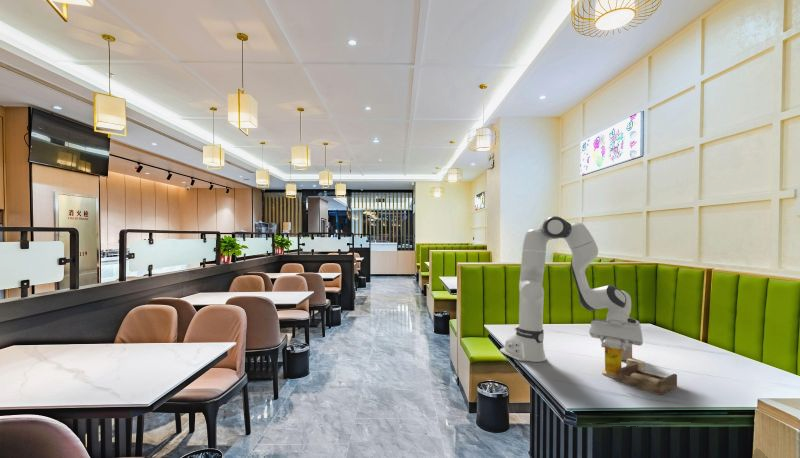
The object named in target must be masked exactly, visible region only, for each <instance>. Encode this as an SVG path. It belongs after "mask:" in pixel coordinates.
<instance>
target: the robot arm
mask: <svg viewBox="0 0 800 458" xmlns="http://www.w3.org/2000/svg"><path fill="white" fill-rule="evenodd" d="M523 238H524V239H523V243H522V249H521V250H522V252H521V261H520V262H521V263H520V274H519V282H518V290H519V303H518V304H519V307H518V309H519V310H518V319H519V320H518V327H514V331H516V332H515V333H514V334H513V335H512V336H510V337H508V338H507V339H506V340H505V342H504V347H502V348H500V349H499V352H500V353H502V354H503V355H504V354H505V355H507V356H508V357H510V358H513V359H515V360H517V361H522V362H533V363H537V362H538V363H541V362H545V361H546V360H547V356H546V353H545V349H544V332H545V331H544V329H543V328H544V327H543V325H544V324H543V320H544V319H543V318H544V302H545V301H544V299H545V290H544V287H543V281H544V274H545V266H546V257H547V256H546V254H547V245H548V244H547V243H548V242H549V241H550V240H558V239H563V240H565V242H566V243H567V244H568V247H569V249H570V251H571V255H572V259H571V261H570V268H571V271H572V275H573V279H574V282H575V286H576V288H577V292H578V299H579V303H580V305H581V306H582V307H583V308H584V309H586V310H588V311H589V312H594V311H596V310H602V309H608V311H607V313H606V319H598V318H596V319H592V320H591V322H590V327H589V330H588V333H589V335H590V337H592V338H593V339H599V341H600V342H601V344H600V345H601V348H604V349H605V339H606V338H607V337H611V338H617V339H620V341H621V342H622V343H625V344H624V345H621V351H625V349H626V348H627V347H628V346H629V344H632V346H633V345H634V346H642V345H643V343H644V338H643V332H642V328H641V324H640V321H639V320H637V319H635V318H632V317H630V314H631V312H632V298H631V295H630V294H629V293H628V292H627V291H625V290H621V289H619V288H618V287H617V286H614V285H613V284H609V285H604V286H599V287H595V288H591V287H590V285H589V282H588V279H587V275H586V270H587V267H588V266H590V264H591V263H593V262H594V261H595V260H596V258H597V257H598V254H599V247H598V245H597V243H596V241H595V239H594V238H593V236H592V234H591V232H590V230H588V228H587V227H586V226H585V225H584V223H582V222H573V223H570V222H569V221H567V220H565V219H564V218H562V217H560V216H557V215H555V216H554V215H553V216H549V217H548V218H546V219H544V221H543V222H542V224H541V225H540V227H539V228H531V229H529V230H527V231H526V232H525V235H524V237H523Z"/></svg>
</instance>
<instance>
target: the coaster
mask: <svg viewBox="0 0 800 458" xmlns="http://www.w3.org/2000/svg"><path fill="white" fill-rule="evenodd" d="M601 372H602V373H601V374H602V375H603V376H605V377H607V378H611V379H617V380H619V376H612V375H609V374H607V373H606V371H605V369H604V370H602V371H601Z"/></svg>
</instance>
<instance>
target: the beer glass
mask: <svg viewBox="0 0 800 458" xmlns="http://www.w3.org/2000/svg"><path fill="white" fill-rule="evenodd" d="M604 342H605V348H604V370H605V371H606V373H607V374H609V375H612V376H619V369H620V368H622V361H621V341H620V339H617V338H611V337H607V338H606V339H604Z"/></svg>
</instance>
